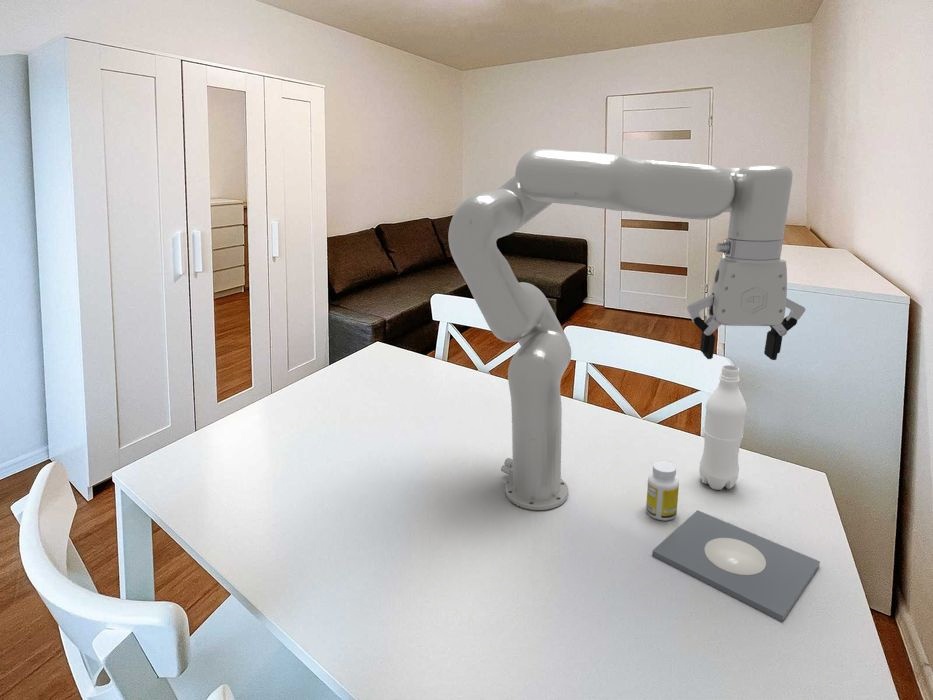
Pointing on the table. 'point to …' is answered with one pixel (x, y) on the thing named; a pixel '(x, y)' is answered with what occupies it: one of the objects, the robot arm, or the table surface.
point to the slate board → (739, 563)
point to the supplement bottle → (662, 491)
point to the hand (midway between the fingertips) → (738, 356)
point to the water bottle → (723, 431)
